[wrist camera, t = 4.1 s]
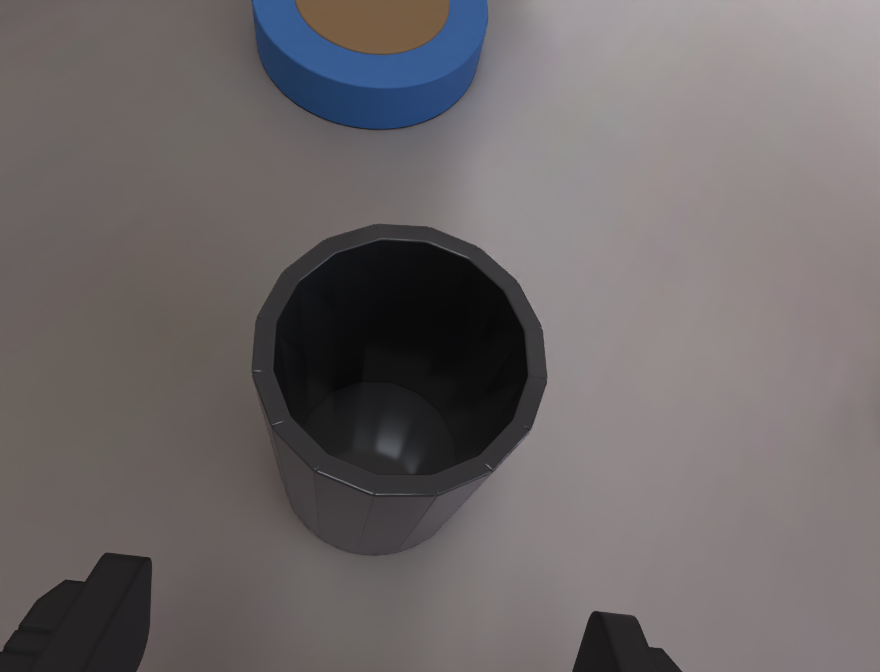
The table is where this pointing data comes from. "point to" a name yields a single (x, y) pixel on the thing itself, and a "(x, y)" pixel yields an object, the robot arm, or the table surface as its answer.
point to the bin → (394, 381)
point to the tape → (371, 56)
